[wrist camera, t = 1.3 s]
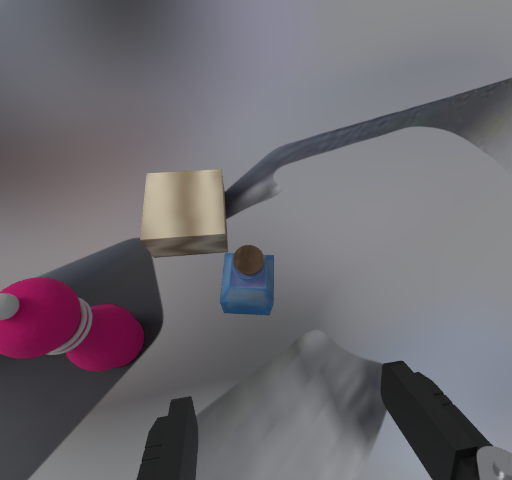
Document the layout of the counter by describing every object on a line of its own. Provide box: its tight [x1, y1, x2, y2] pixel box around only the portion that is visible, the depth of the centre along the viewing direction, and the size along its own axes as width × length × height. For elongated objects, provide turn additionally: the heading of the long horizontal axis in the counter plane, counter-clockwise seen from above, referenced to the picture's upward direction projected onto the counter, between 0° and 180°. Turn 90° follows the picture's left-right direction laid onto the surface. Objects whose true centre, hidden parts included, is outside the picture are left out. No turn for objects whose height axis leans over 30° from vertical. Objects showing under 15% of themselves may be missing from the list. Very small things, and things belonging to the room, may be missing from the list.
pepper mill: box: [0, 278, 144, 372], centre depth 26 cm, size 7×7×20 cm
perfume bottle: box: [220, 245, 274, 315], centre depth 34 cm, size 6×6×12 cm
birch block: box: [140, 169, 228, 258], centre depth 41 cm, size 11×11×6 cm
